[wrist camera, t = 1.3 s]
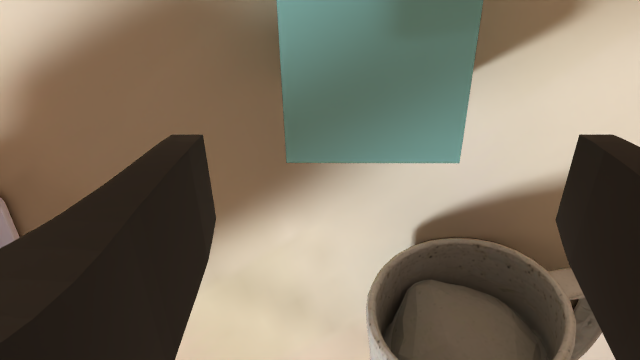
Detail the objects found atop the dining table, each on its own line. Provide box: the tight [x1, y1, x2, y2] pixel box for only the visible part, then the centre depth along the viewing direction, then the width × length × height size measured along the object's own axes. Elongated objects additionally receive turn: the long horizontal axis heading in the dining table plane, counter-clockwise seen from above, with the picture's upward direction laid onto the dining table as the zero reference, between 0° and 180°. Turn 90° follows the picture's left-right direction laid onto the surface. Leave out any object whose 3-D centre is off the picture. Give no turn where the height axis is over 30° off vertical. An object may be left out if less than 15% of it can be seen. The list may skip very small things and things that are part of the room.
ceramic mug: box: [366, 238, 602, 360], centre depth 23 cm, size 11×8×8 cm
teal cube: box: [277, 0, 483, 163], centre depth 17 cm, size 5×5×5 cm
